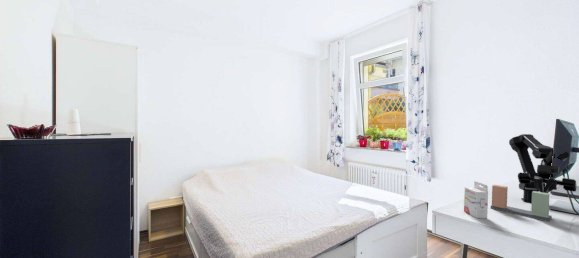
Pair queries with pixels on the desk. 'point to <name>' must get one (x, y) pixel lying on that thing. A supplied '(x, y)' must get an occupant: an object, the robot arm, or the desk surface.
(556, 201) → the desk surface
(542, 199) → the pale green block
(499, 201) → the peach button block
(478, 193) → the ink cartridge box
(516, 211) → the grey flat slab
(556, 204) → the desk surface
